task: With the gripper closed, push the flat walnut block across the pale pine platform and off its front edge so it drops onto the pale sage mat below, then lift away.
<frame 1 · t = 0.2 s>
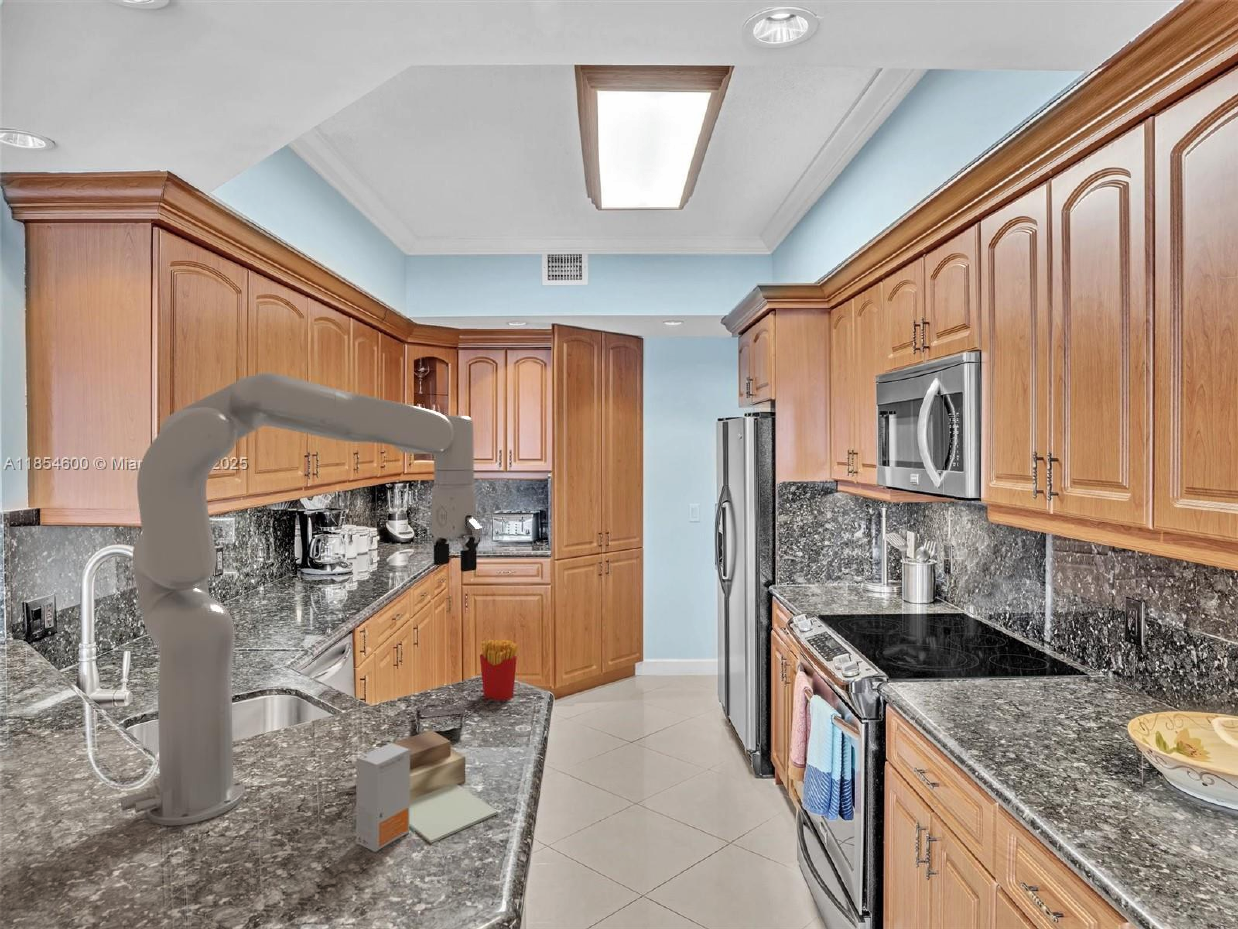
hand: (454, 567, 136), 31 cm above the countertop, tool pointing down, fingers open, 9 cm apart
platform: (413, 781, 114), on the countertop
walnut block: (416, 758, 113), point 4 cm above the countertop, touching platform
french fries: (499, 697, 152), on the countertop
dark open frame: (440, 731, 135), on the countertop
skincare box: (383, 839, 97), on the countertop
mat: (443, 812, 104), on the countertop
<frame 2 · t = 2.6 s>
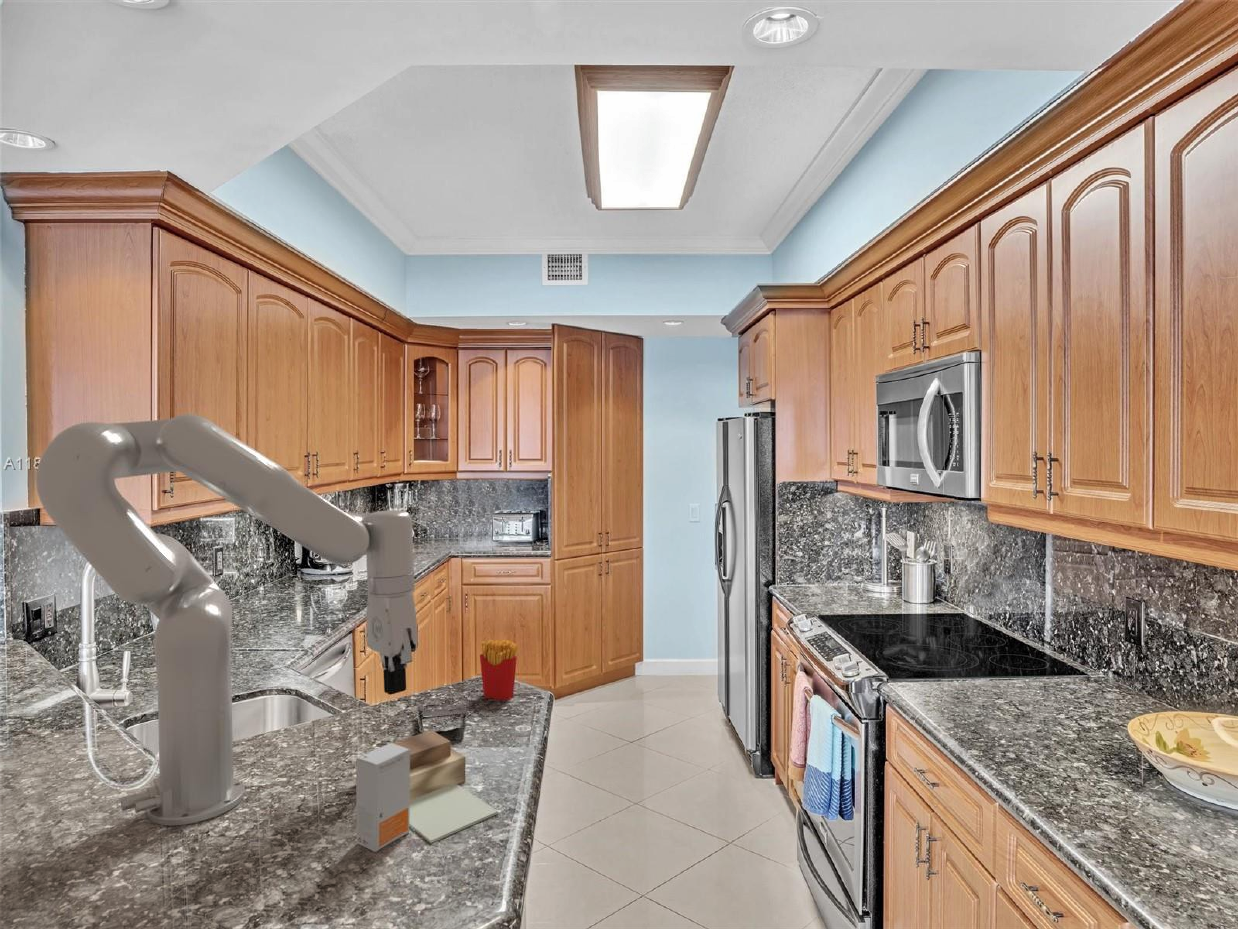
hand: (395, 691, 119), 13 cm above the countertop, tool pointing down, fingers closed
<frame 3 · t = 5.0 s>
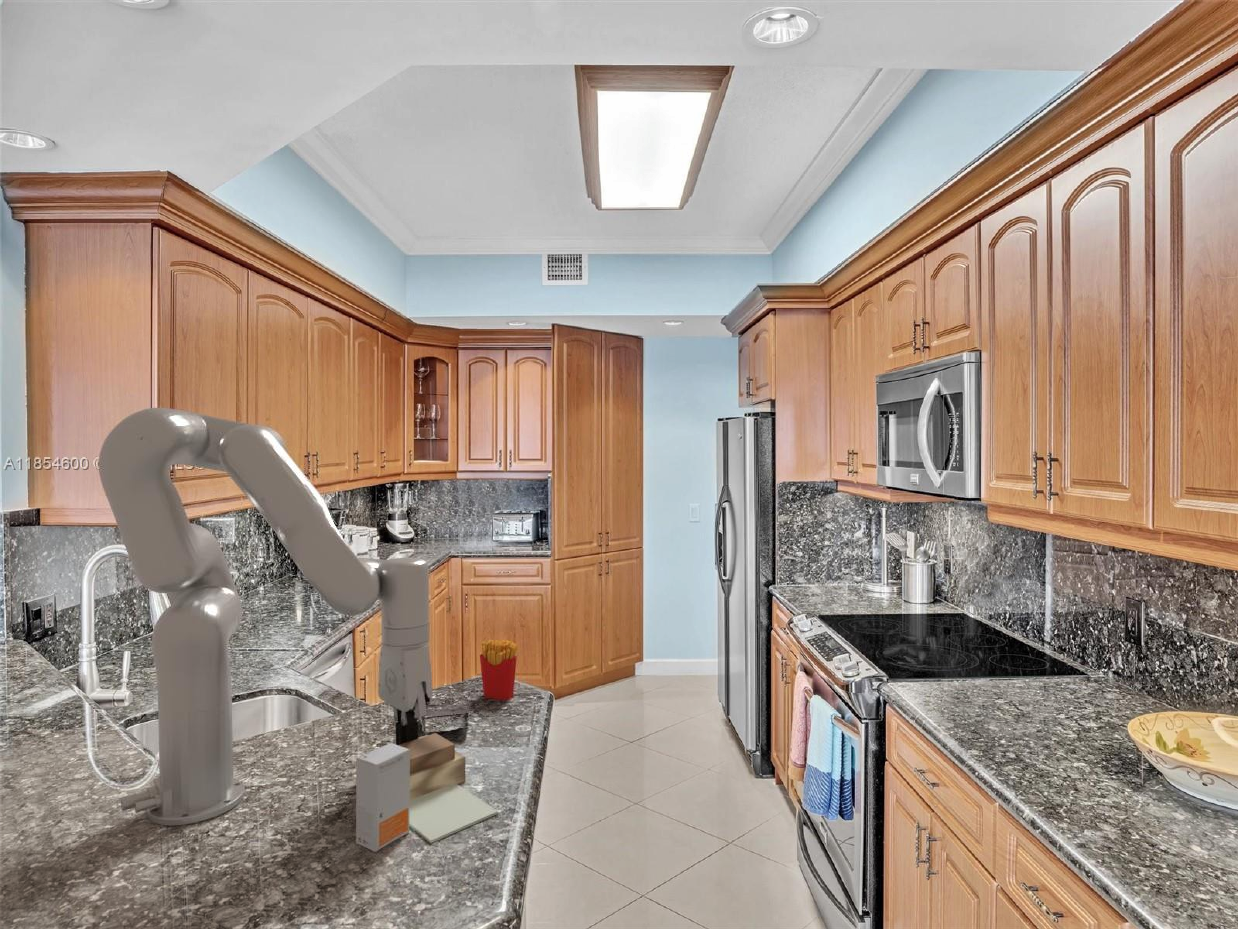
hand: (407, 745, 115), 5 cm above the countertop, tool pointing down, fingers closed
walnut block: (420, 761, 112), point 4 cm above the countertop, touching gripper, platform
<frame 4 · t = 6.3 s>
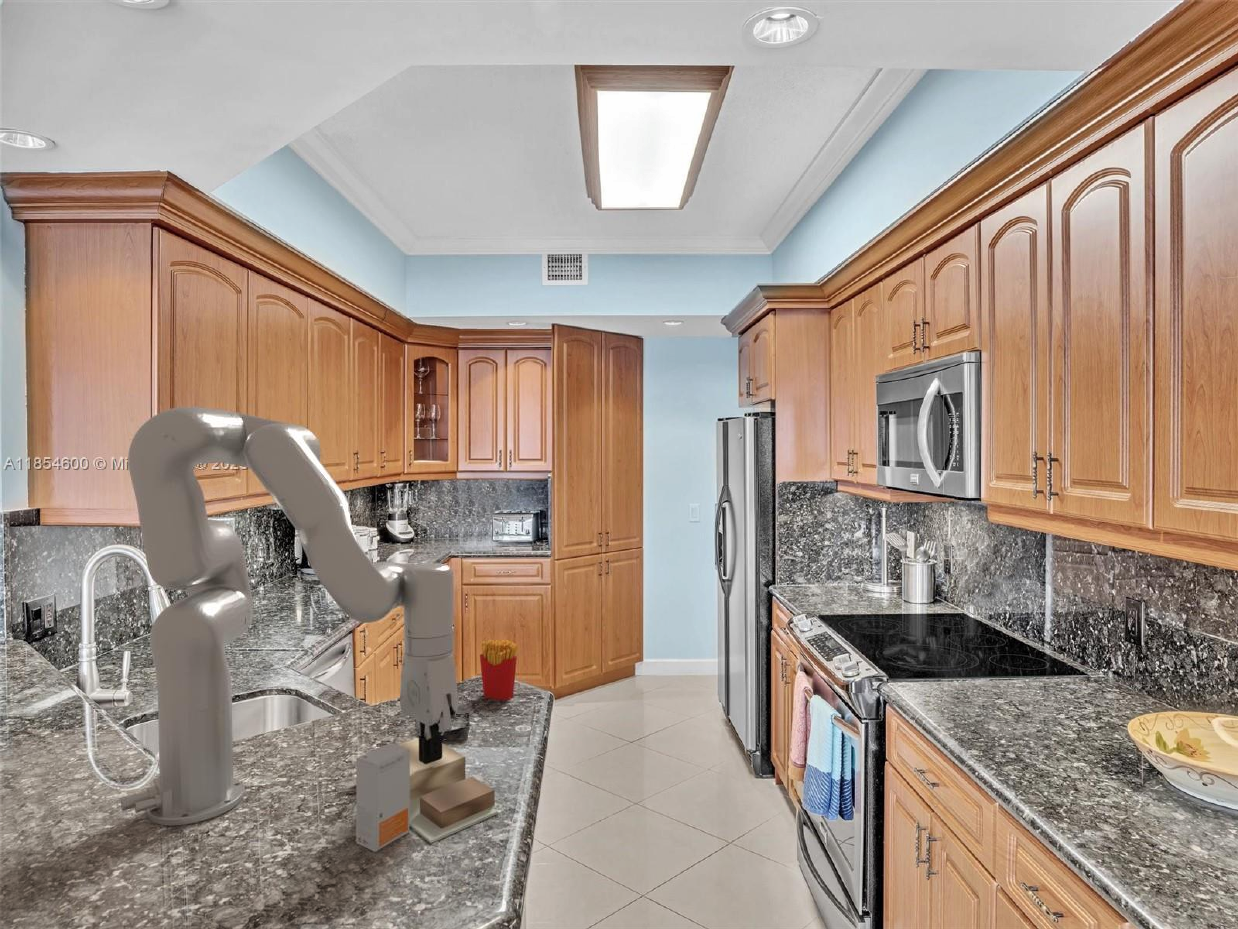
hand: (430, 760, 110), 5 cm above the countertop, tool pointing down, fingers closed
walnut block: (457, 793, 104), point 3 cm above the countertop, tilted 180°, touching mat
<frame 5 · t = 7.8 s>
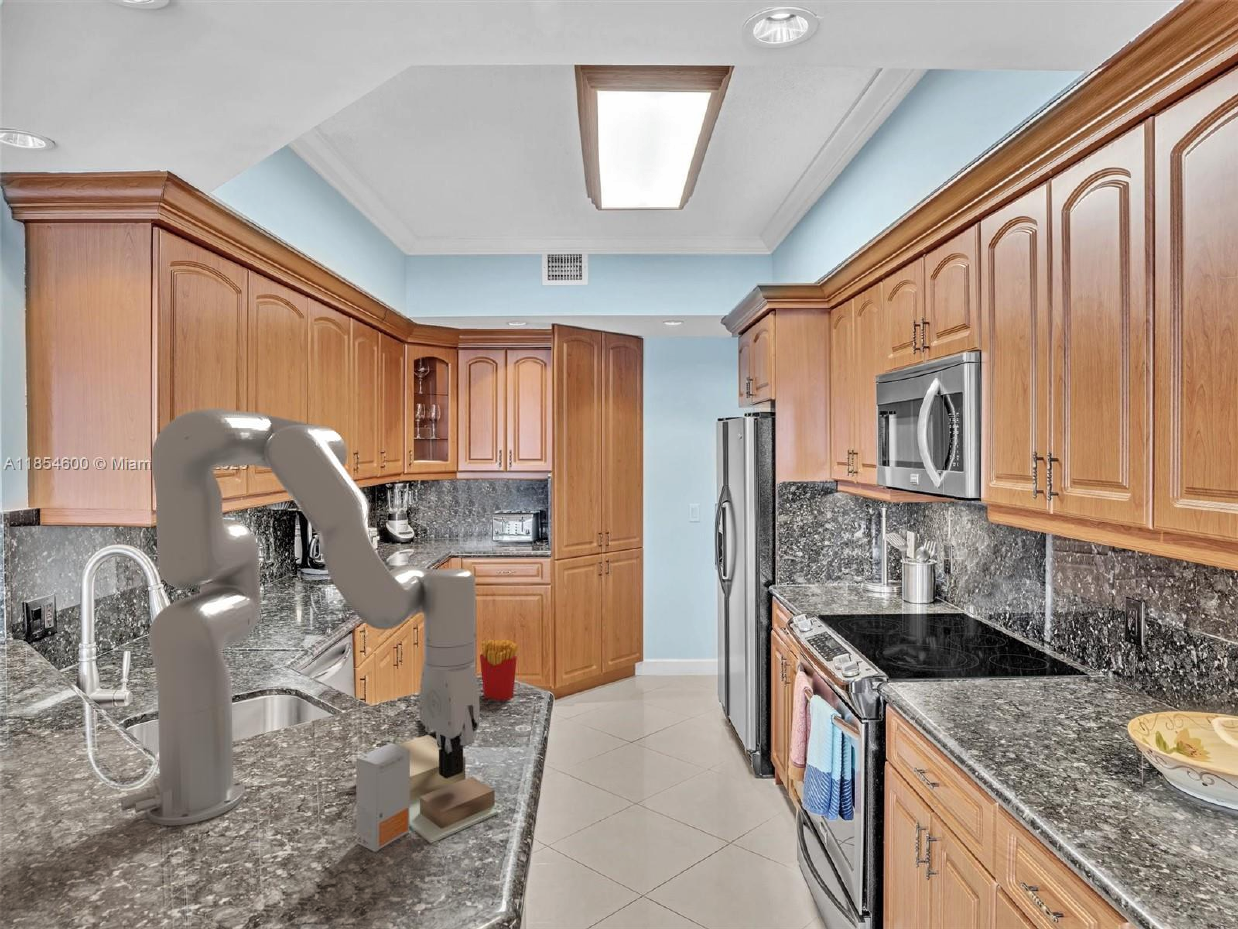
hand: (451, 773, 105), 5 cm above the countertop, tool pointing down, fingers closed
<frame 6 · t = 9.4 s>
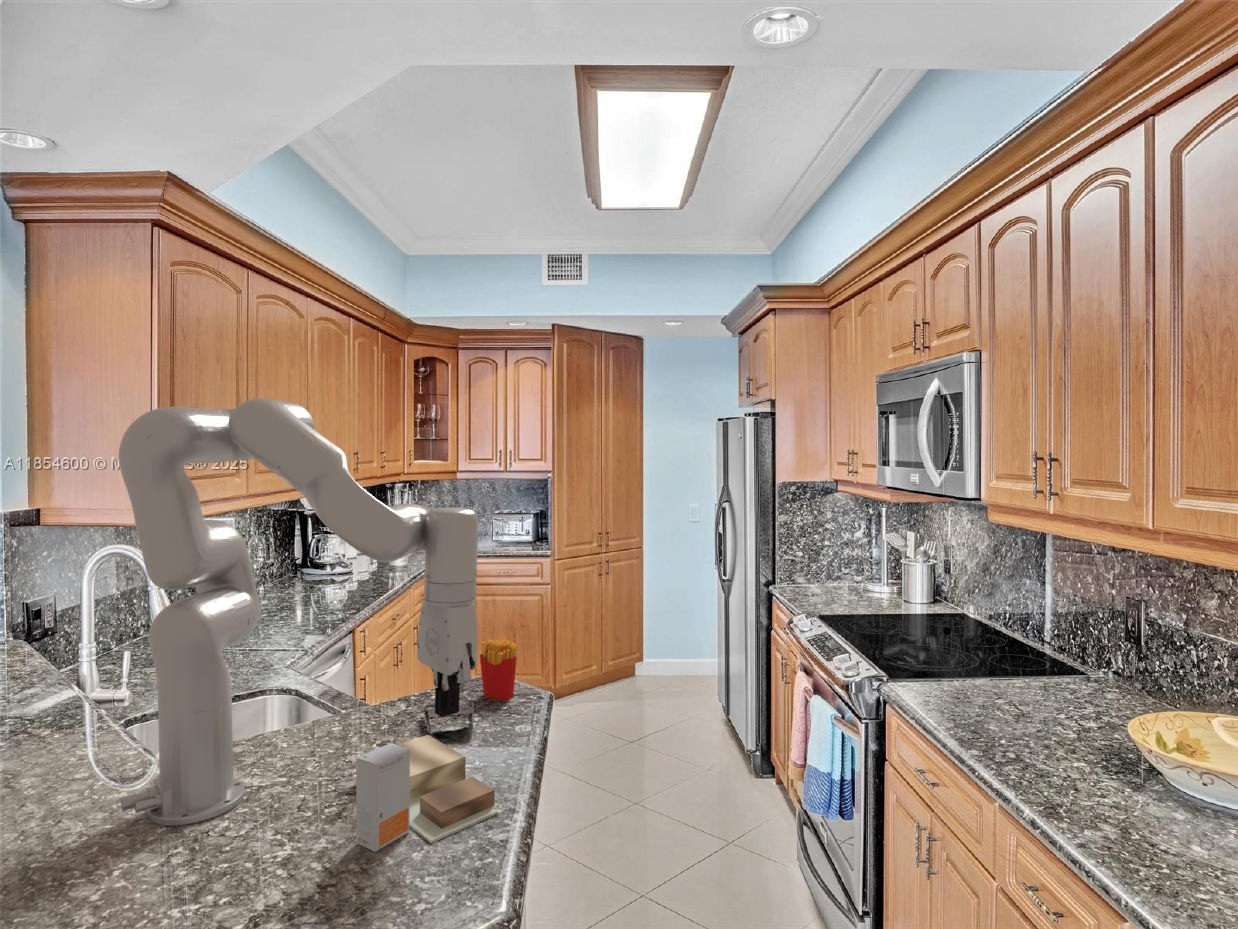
hand: (446, 713, 105), 14 cm above the countertop, tool pointing down, fingers closed
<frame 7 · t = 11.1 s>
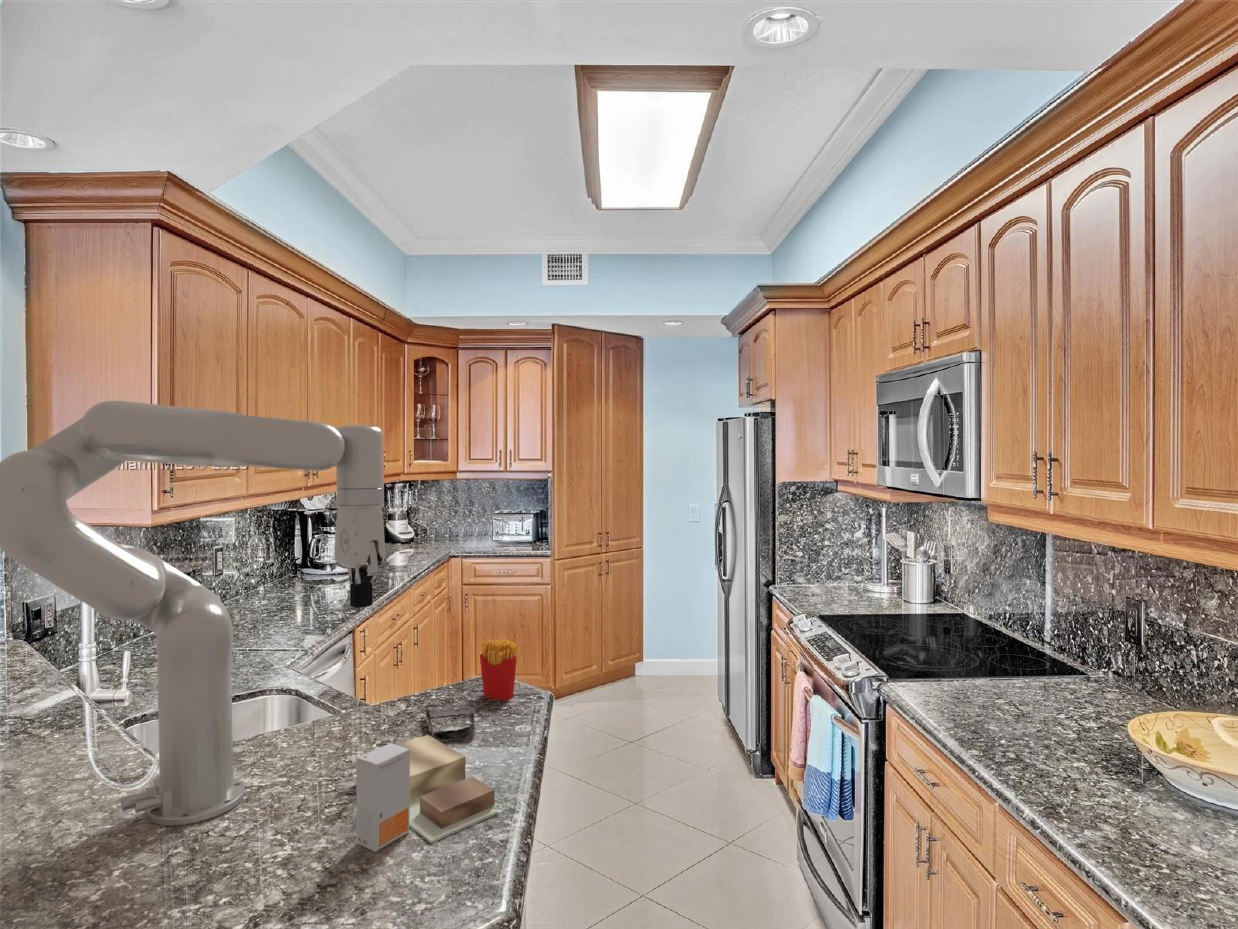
hand: (361, 606, 119), 27 cm above the countertop, tool pointing down, fingers closed
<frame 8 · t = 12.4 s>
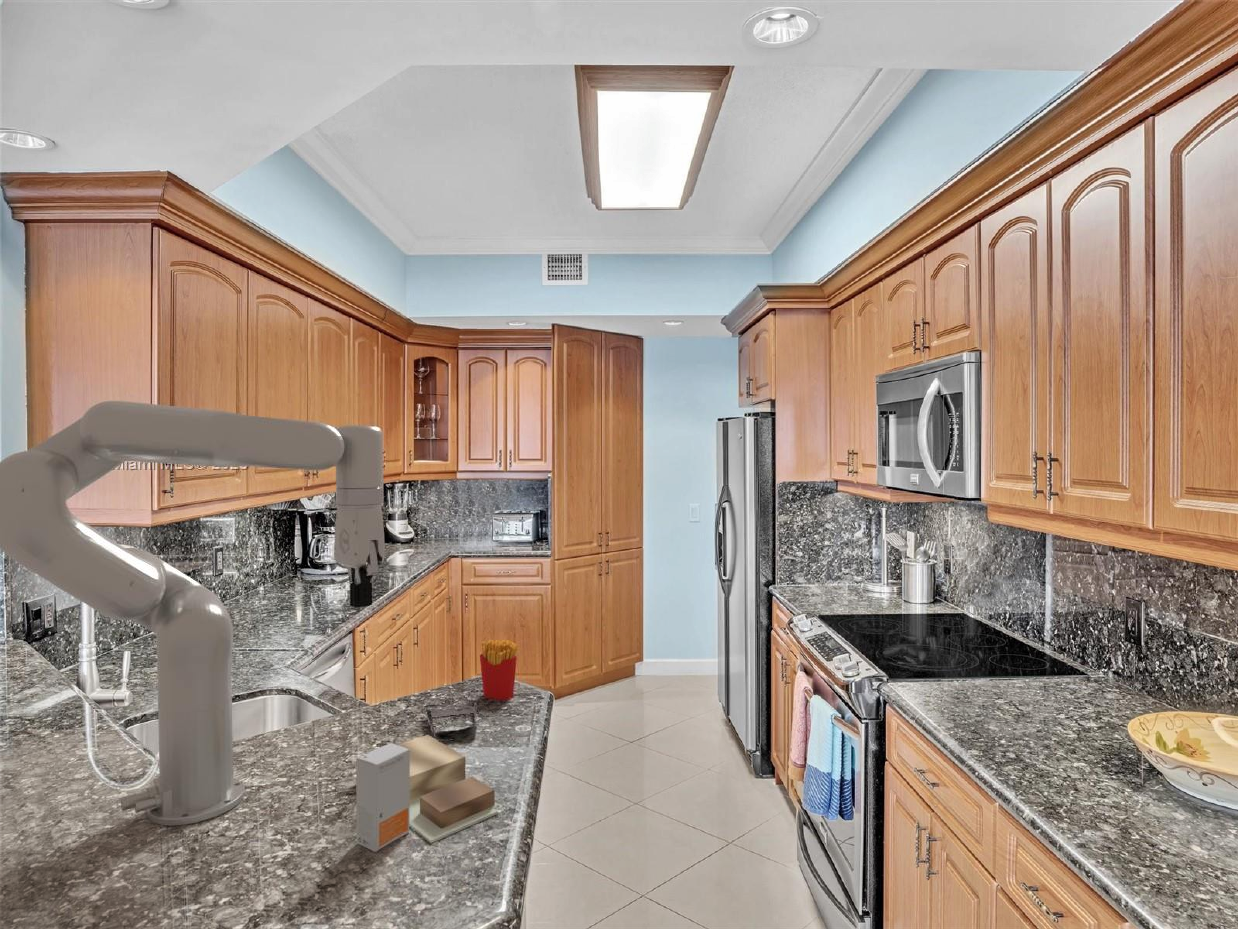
hand: (361, 605, 119), 27 cm above the countertop, tool pointing down, fingers closed
at the end: walnut block inside the target area (2.1 cm from its centre), point 2.8 cm above the countertop; walnut block moved 12.4 cm from its start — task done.
